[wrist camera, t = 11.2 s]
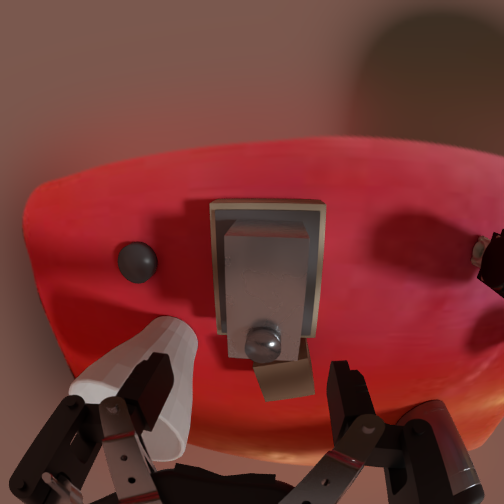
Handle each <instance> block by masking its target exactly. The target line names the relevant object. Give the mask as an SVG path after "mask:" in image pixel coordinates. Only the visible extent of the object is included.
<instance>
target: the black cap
mask: <svg viewBox="0 0 504 504" xmlns="http://www.w3.org/2000/svg"><path fill="white" fill-rule="evenodd" d="M118 266H119V269H120V271H121V273H122V275H123V276H124V277H125V278H126V279H127V280H129V281H131V282H133V283H144V282H146V281H147V280H148V279H149V278H150V277H151V276H152V275H153V274H154V273H155V271H156V269H157V257H156V254H155V252H154V251H153V249H152V248H151V247H150V246H149V245H147V244H145V243H143V242H133V243H131V244H129V245H127V246H126V247H124V248H123V249H122V250H121V251H120V253H119V256H118Z"/></svg>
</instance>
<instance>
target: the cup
mask: <svg viewBox="0 0 504 504" xmlns="http://www.w3.org/2000/svg"><path fill="white" fill-rule="evenodd" d="M197 348H198V341H197V337H196V335H195V333H194V331H193V330H192V329H191V328H190V326H189V325H187V324H186V323H185V322H183V321H182V320H180V319H177V318H175V317H171V316H161V317H158V318H156V319H154V320H153V321H152V322H151V323H150V324H149V325H148V326H147V327H145V328H144V329H143V330H142V331H141V332H140V333H138V334H137V335H136V336H134V337H133V338H131V339H129V340H128V341H126V342H124V343H122V344H120V345H119V346H117V347H115V348H114V349H112V350H111V351H109V352H108V353H107V354H105V355H104V356H103V357H101V358H100V359H98V360H97V361H96V362H94V363H93V364H92V365H90V366H89V367H87V368H86V369H85V370H84V371H83V372H82V373H81V374H80V375H79V376H78V377H77V378H76V379H75V380H74V381H73V382H72V383H71V385H70V388H69V396H70V395H79V396H81V397H82V398H83V399H84V401H85V403H90V404H100V403H101V401H102V400H104V399H105V398H107V397H111V396H116V394H117V393H118V391H119V390H120V388H121V387H122V385H123V384H124V382H125V381H126V379H127V378H128V377H129V375H130V374H131V373H132V371H133V369H134V368H135V366H136V365H137V364H139V363H140V362H141V361H143V360H148V359H149V357H150V356H151V354H152V353H153V352H158V353H166V354H168V355H169V358H170V362H171V366H172V370H173V374H174V385H173V388H172V390H171V392H170V394H169V396H168V398H167V400H166V402H165V404H164V407H163V409H162V411H161V413H160V415H159V417H158V419H157V421H156V424H155V426H154V428H153V430H152V432H149V431H145V430H143V432H142V434H141V435H142V437H143V440H144V442H145V445H146V447H147V450H148V452H149V455H150V457H151V460H152V461H163V462H164V461H172V460H175V459H177V458H179V457H181V456H182V454H183V453H184V451H185V448H186V443H187V439H188V435H189V430H190V422H191V410H192V377H193V365H194V359H195V355H196V352H197Z"/></svg>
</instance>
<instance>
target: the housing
mask: <svg viewBox="0 0 504 504" xmlns="http://www.w3.org/2000/svg"><path fill="white" fill-rule="evenodd" d="M309 243H310V238H309V235H308V233H307V231H306V228H305V226H304V224H303V222H299V221H271V220H236V221H235V222H234V224H233V225H232V226H231V227H230V229H229V230H228V231H227V233H226V234H225V235H224V250H225V288H226V316H227V339H228V357H232V358H245V359H251V360H253V361H255V362H257V363H269V362H272V361H274V360H284V361H298V354H299V346H300V338H301V330H302V321H303V312H304V302H305V292H306V281H307V269H308V257H309Z"/></svg>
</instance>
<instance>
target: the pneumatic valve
mask: <svg viewBox="0 0 504 504" xmlns="http://www.w3.org/2000/svg"><path fill="white" fill-rule="evenodd" d="M478 241H479V242H477V243H476V244H475V246H474V248H473V253H472V255H473V257H472V258H471V263H472V264H473V265H475V266H477V267H479V268H480V271H479V273H478V276H477V279H479V280H480V281H482V282H483V283H484V284H486V285H487V286H488V287H490V288H491V289H492V290H494V291H495V292H496V293H498V294H499V295H500V296H502V297H503V298H504V229H502V232H501V234H498V233H495V232H494V233H493V236H492V239H491V240H490V239H488V238H486V237H485V236H480V237H479V238H478Z"/></svg>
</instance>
